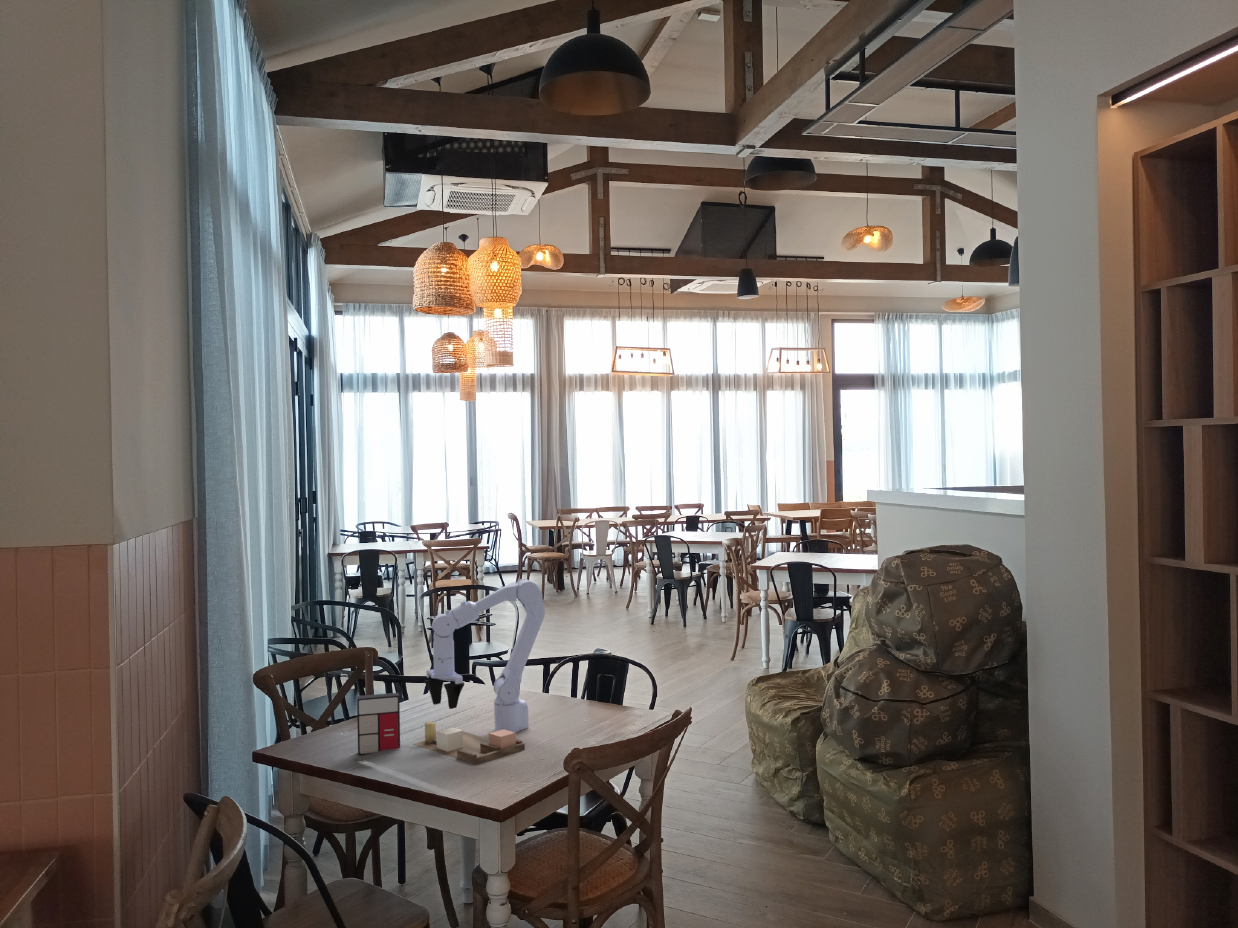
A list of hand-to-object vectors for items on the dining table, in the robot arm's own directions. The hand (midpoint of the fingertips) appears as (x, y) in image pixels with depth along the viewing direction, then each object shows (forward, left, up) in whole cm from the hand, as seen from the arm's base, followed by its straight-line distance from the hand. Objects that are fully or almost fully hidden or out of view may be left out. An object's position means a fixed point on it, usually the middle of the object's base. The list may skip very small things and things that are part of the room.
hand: (444, 705), depth 246 cm
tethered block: (+6, +6, -8) cm, 12 cm away
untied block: (-2, +23, -8) cm, 25 cm away
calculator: (+18, -5, -10) cm, 21 cm away
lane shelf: (+2, +13, -9) cm, 16 cm away
